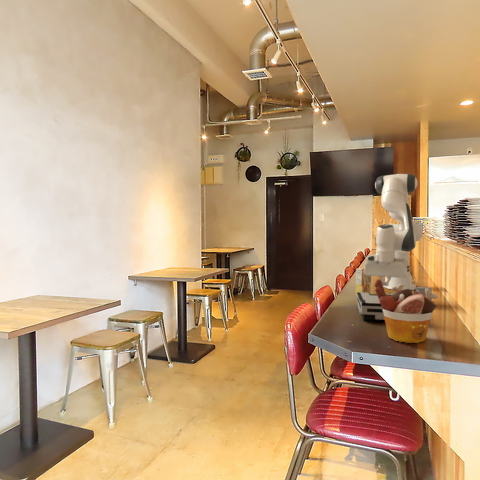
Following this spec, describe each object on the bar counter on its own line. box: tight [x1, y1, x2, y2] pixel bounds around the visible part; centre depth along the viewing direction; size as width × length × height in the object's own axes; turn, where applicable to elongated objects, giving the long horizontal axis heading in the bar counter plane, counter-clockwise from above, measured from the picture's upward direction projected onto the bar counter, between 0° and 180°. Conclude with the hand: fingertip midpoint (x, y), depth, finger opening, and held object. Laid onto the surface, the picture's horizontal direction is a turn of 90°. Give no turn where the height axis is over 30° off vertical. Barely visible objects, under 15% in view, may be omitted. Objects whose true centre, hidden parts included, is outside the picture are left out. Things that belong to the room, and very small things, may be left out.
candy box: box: [355, 267, 372, 298], centre depth 213 cm, size 9×4×15 cm, turn 129°
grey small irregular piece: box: [415, 286, 433, 301], centre depth 191 cm, size 7×7×8 cm
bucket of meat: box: [374, 278, 439, 344], centre depth 133 cm, size 20×16×20 cm
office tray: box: [356, 292, 393, 323], centre depth 169 cm, size 21×32×8 cm, turn 167°
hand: (385, 285), depth 194 cm, fingers closed
